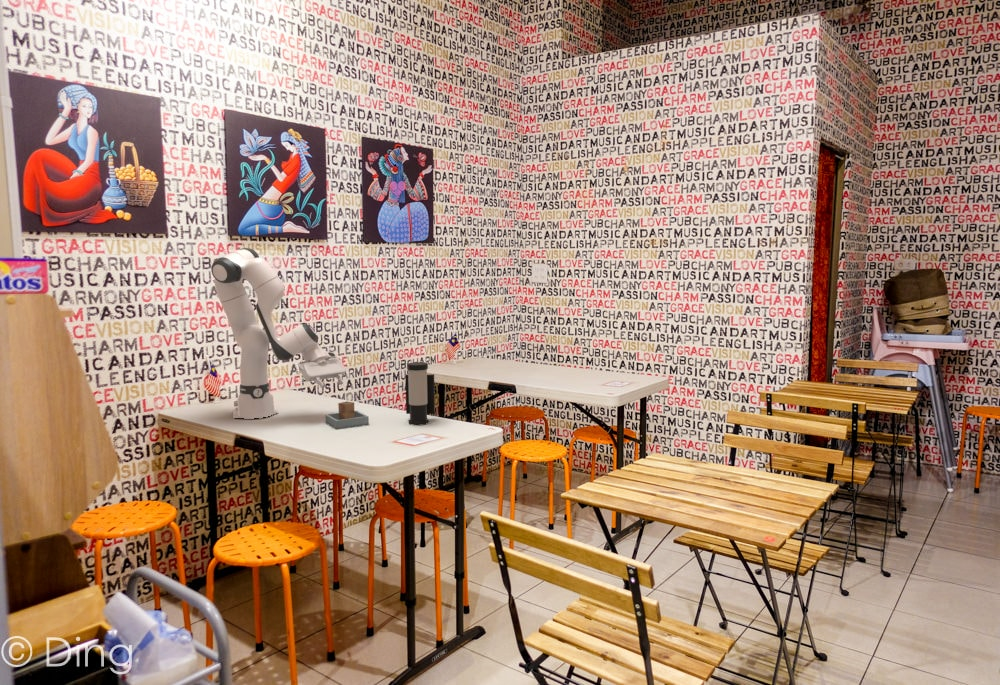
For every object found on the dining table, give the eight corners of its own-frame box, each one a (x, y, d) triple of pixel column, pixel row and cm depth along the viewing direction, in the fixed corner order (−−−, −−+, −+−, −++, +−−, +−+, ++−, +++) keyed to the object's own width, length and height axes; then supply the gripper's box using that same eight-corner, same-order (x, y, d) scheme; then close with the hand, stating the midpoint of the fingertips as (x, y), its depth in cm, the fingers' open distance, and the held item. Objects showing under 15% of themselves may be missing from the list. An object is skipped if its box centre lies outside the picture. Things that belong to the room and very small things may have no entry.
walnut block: (339, 422, 282) (338, 402, 281) (347, 420, 286) (346, 401, 285) (346, 423, 280) (345, 404, 279) (354, 421, 283) (354, 402, 282)
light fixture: (402, 425, 280) (400, 365, 277) (406, 419, 291) (405, 361, 288) (431, 425, 279) (430, 365, 276) (435, 419, 290) (434, 361, 287)
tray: (325, 422, 285) (325, 414, 285) (356, 418, 292) (356, 410, 292) (336, 429, 274) (336, 420, 273) (368, 424, 281) (368, 416, 280)
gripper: (299, 357, 281) (316, 383, 276) (338, 352, 297) (354, 377, 293) (293, 367, 284) (308, 393, 279) (332, 362, 300) (347, 386, 296)
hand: (332, 385), depth 286 cm, fingers open, 8 cm apart
